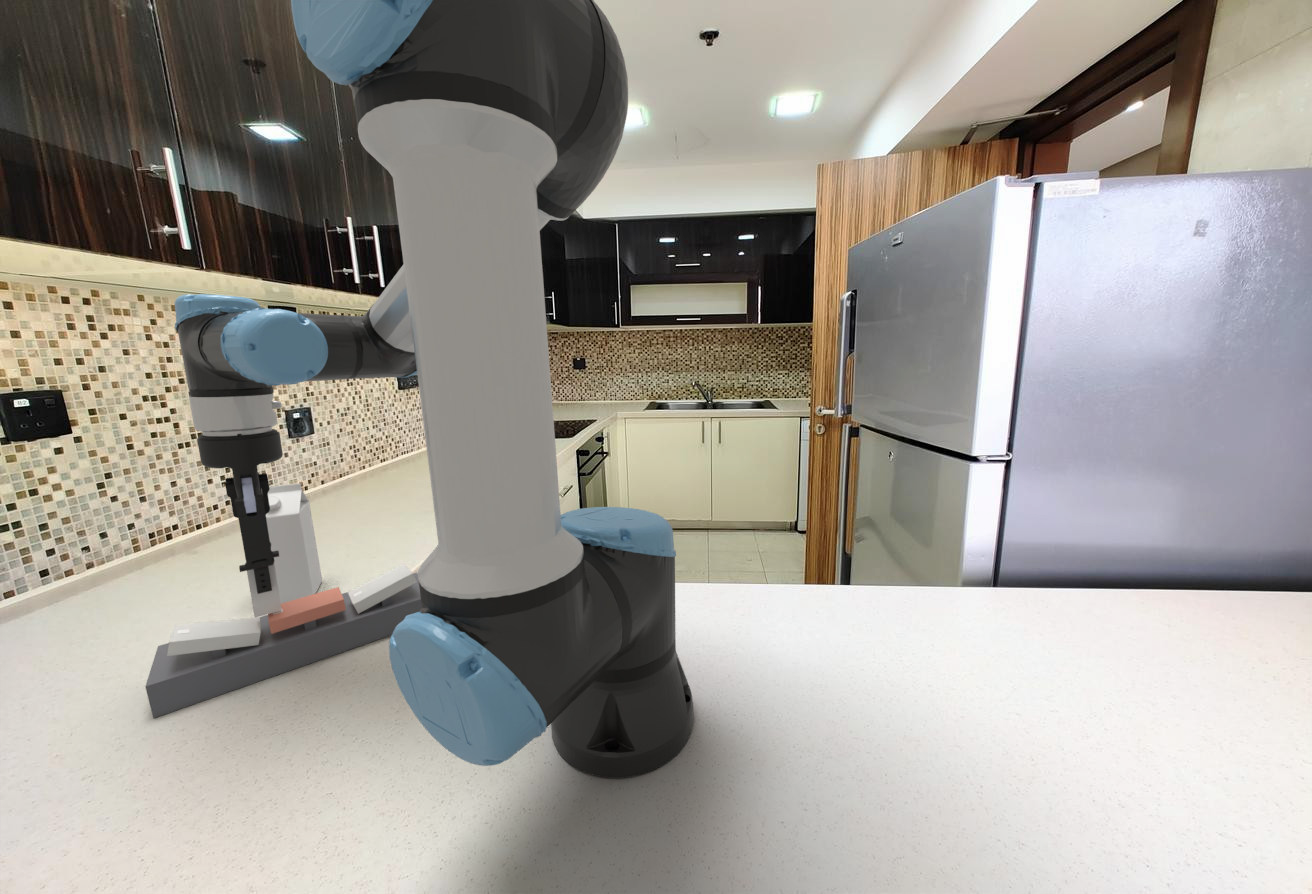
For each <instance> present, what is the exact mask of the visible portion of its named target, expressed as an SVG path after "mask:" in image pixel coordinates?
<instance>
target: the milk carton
mask: <svg viewBox="0 0 1312 894" xmlns="http://www.w3.org/2000/svg"><path fill="white" fill-rule="evenodd" d="M269 488H270V489H269V491H268V499H269V506H270V511H269V512H268V513H267V514H266V520H267V526H268V533H269V539H270V543H271V551H279V557H274V564H275V570H276V577H277V583H278V590H279V596H280V603H281V604H282V603H285V602H289V601H292V600H296V599H299V598H302V597H306V596H309V595H313V594H316V593H318V590H319V588H320V586H321V584H322V581H323V577H322V570H321V565H320V559H319V557H320V556H319V551H318V547H317V539H316V536H315V527H314V523H313V516H312V510H311V505H310V500H309V499H308V497H307V495H306V494H305V492H304V491H303V488H302V484H301V483H293V484H292V483H291V484H281V485H273V486H269ZM261 491H262V489H261Z"/></svg>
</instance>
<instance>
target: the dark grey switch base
mask: <svg viewBox="0 0 1312 894" xmlns="http://www.w3.org/2000/svg"><path fill="white" fill-rule="evenodd" d="M412 573H413V572H412ZM413 575H414V577H415V579H416V583H414V584H412V585H411V586H409V587H407V588H405V589H403V590H401V591H400V592H398V593H396V594H394V595H392V596H390V597H388V598H387V599H385V600H383V601H381V602H379V603H377V604H376V605H374V606H372V607H370V608H368V609H366V610H364V611H363V612H361V613H359V614H358V612H357V611H356V609H355V607H354V605H353V603H352V601H351V599H350V596H349V594H348V592H349V591H347V592H344V593H341V594H342V596H343V598H344V603H345V608H346V610H344V611H341V612H338V613H335V614H332V615H329V616H326V617H323V618H319V619H316V620H313V621H310V622H307V623H304V624H301V625H298V626H295V627H291V628H288V629H285V630H282V631H279V632H276V633H273V634H271V631H270V626H269V621H268V614H267V615H263V616H259V617H260V630H261V633H260V639H259V645H254V646H246V647H238V648H229V649H221V650H213V651H204V652H196V653H188V654H180V655H171V656H167V653H168V647H169V642H168V643H164V644H160V645H157V648H156V652H155V655H154V657H153V661H152V664H151V667H150V670H149V674H148V677H147V680H146V683H145V685H144V686H145V691H146V694H147V699H148V701H149V702H148V703H149V706H150V711H151V715H152V718H153V719H156V718H159V717H163V716H164V715H167V714H171V713H173V712H175V711H179V710H182V709H185V708H187V707H190V706H193V705H196V704H198V703H202V702H204V701H208V700H209V699H212V698H215V697H219V696H221V695H224V694H227V693H231V692H233V691H235V690H239V689H241V688H244V687H246V686H250V685H253V684H256V683H258V682H262V681H264V680H267V679H270V678H272V677H276V676H278V675H281V674H284V673H287V672H289V671H292V670H295V669H298V668H302V667H304V666H307V665H310V664H313V663H316V662H318V661H322V660H325V659H327V658H330V657H333V656H336V655H338V654H341V653H344V652H347V651H350V650H353V649H356V648H358V647H360V646H365V645H367V644H369V643H373V642H375V641H378V640H381V639H385V638H387V637H391V636H392V635H393V631H394V630H395V627H396V626H397V625H398V624H399V623H401V622H402V621H403V620H404V618H405V617H406V616H407V615H410V614H414V613H417V612H420V611H421V608H422V604H421V596H420V588H419V581H418V572H414V573H413Z"/></svg>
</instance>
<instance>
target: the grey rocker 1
mask: <svg viewBox="0 0 1312 894" xmlns="http://www.w3.org/2000/svg"><path fill="white" fill-rule="evenodd" d="M260 617H261V616H259V617H243V618H236V619H234V618H233V619H223V620H222V619H221V620H213V621H201V622H200V621H199V622H192V623H191V622H190V623H179V624H178V623H176V624H173V628H172V630H171V633H170V634H171V635H170V638H169V642H168V643H169V647H168V653H167V656H171V655H180V654H188V653H196V652H204V651H213V650H221V649H229V648H238V647H246V646H254V645H259V639H260V633H261V630H260Z"/></svg>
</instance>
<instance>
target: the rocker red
mask: <svg viewBox="0 0 1312 894" xmlns="http://www.w3.org/2000/svg"><path fill="white" fill-rule="evenodd" d="M342 594H343V593H342V592H341V590H340V587H339V586H337V587H334V588H330V589H327V590H322V591H320V592H316V594H313V595H309V596H306V597H302V598H299V599H296V600H292V601H289V602H285V603H282V604H281V609H282V611H278V612H274V613H270V614H267V615H268V621H269V626H270V631H271V634H273V633H276V632H279V631H282V630H285V629H288V628H291V627H295V626H298V625H301V624H304V623H307V622H310V621H313V620H316V619H319V618H323V617H326V616H329V615H332V614H335V613H338V612H341V611H344V610H346V608H345V603H344V598H343V596H342Z"/></svg>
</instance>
